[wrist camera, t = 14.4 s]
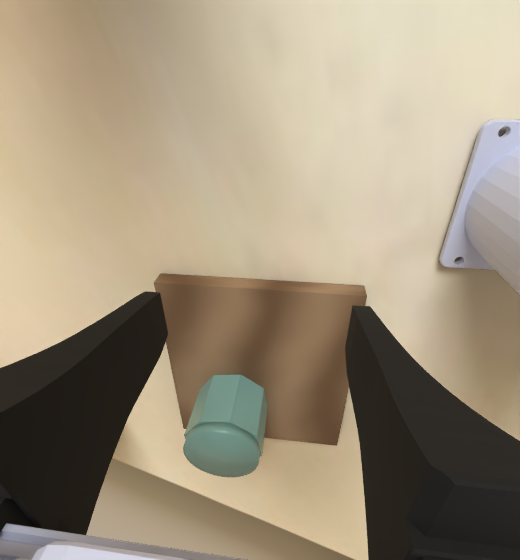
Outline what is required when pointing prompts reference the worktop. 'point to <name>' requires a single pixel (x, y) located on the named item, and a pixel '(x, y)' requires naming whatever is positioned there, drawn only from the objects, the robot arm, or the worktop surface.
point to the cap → (227, 426)
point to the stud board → (264, 346)
